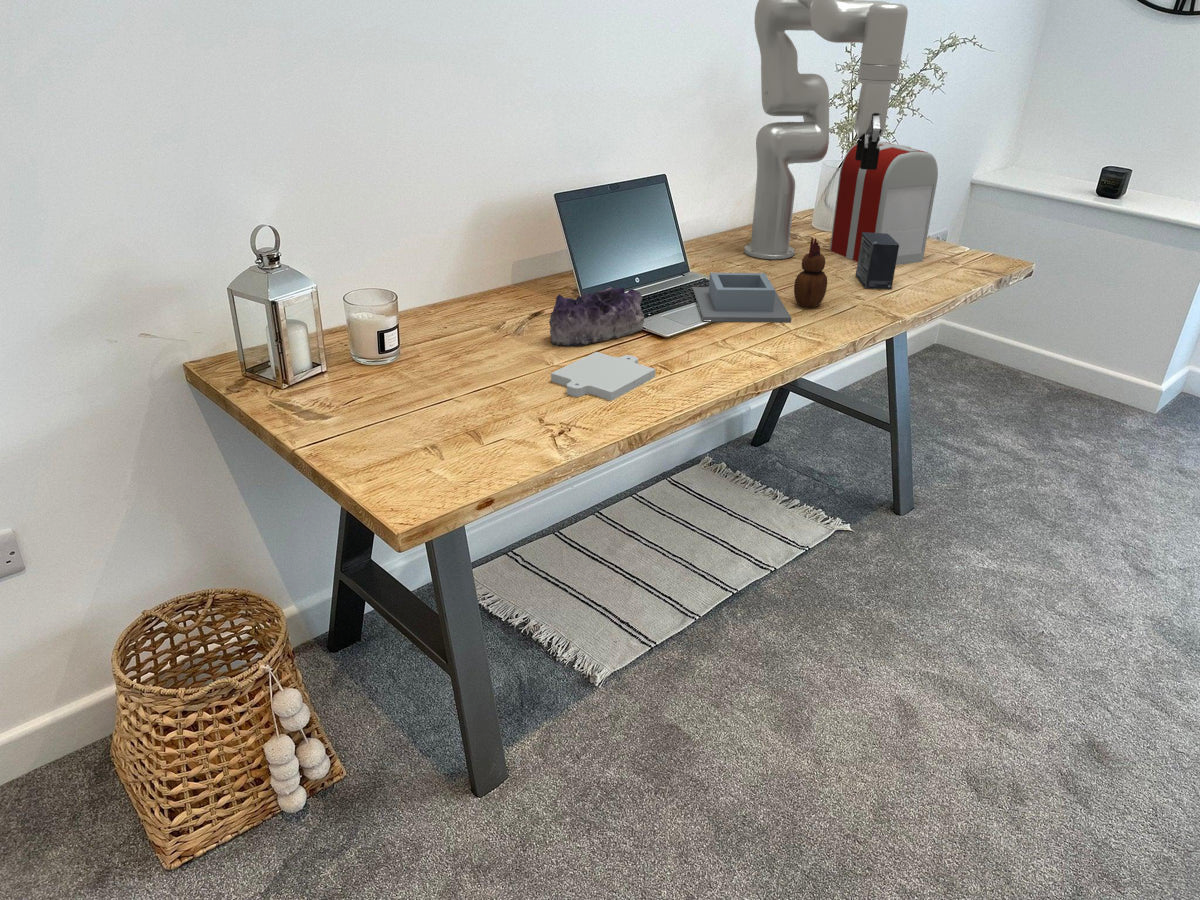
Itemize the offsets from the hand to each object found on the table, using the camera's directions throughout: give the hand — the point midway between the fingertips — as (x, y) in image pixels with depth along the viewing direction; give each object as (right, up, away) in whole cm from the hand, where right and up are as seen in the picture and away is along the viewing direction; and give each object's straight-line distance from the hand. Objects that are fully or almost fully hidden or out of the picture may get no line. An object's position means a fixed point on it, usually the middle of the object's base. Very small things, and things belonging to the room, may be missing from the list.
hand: (865, 164), depth 187 cm
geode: (-55, -36, -6) cm, 66 cm away
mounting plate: (-53, -46, -26) cm, 75 cm away
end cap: (-24, -27, +10) cm, 38 cm away
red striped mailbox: (+16, -9, +48) cm, 51 cm away
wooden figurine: (-9, -27, +12) cm, 31 cm away
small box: (+10, -19, +27) cm, 35 cm away
